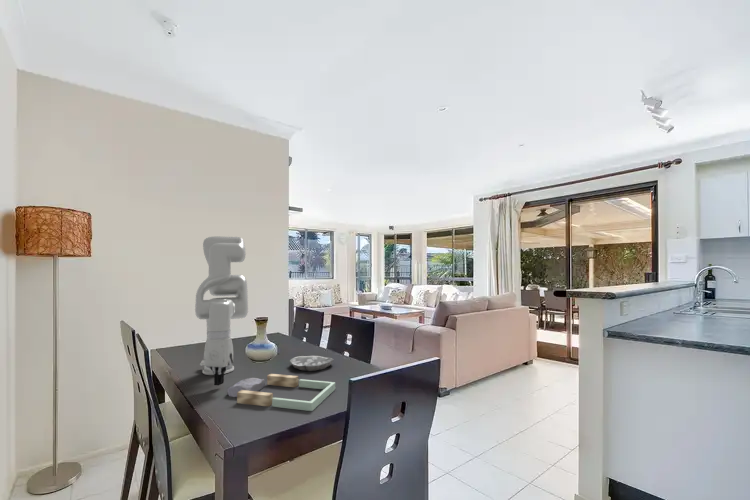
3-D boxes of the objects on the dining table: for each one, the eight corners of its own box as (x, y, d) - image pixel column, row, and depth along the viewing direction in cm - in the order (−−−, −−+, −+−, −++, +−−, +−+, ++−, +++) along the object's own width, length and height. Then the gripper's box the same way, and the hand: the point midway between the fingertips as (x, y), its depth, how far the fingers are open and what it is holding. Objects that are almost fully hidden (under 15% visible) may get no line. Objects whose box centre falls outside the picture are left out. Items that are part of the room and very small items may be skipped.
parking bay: (272, 406, 118) (272, 398, 118) (300, 385, 137) (300, 379, 137) (312, 411, 114) (312, 403, 114) (335, 389, 133) (335, 382, 133)
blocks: (237, 402, 121) (237, 392, 121) (270, 382, 141) (270, 373, 141) (268, 406, 118) (268, 395, 118) (298, 385, 138) (298, 376, 138)
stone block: (225, 402, 127) (251, 398, 125) (223, 388, 127) (248, 384, 125) (243, 391, 138) (267, 387, 137) (241, 378, 139) (265, 374, 137)
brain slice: (282, 372, 155) (282, 365, 155) (297, 361, 172) (297, 355, 172) (326, 374, 152) (326, 367, 152) (336, 363, 169) (336, 356, 169)
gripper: (195, 335, 134) (194, 385, 133) (229, 337, 130) (229, 389, 129) (209, 332, 141) (209, 379, 140) (242, 333, 137) (242, 382, 136)
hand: (218, 384), depth 135 cm, fingers closed
